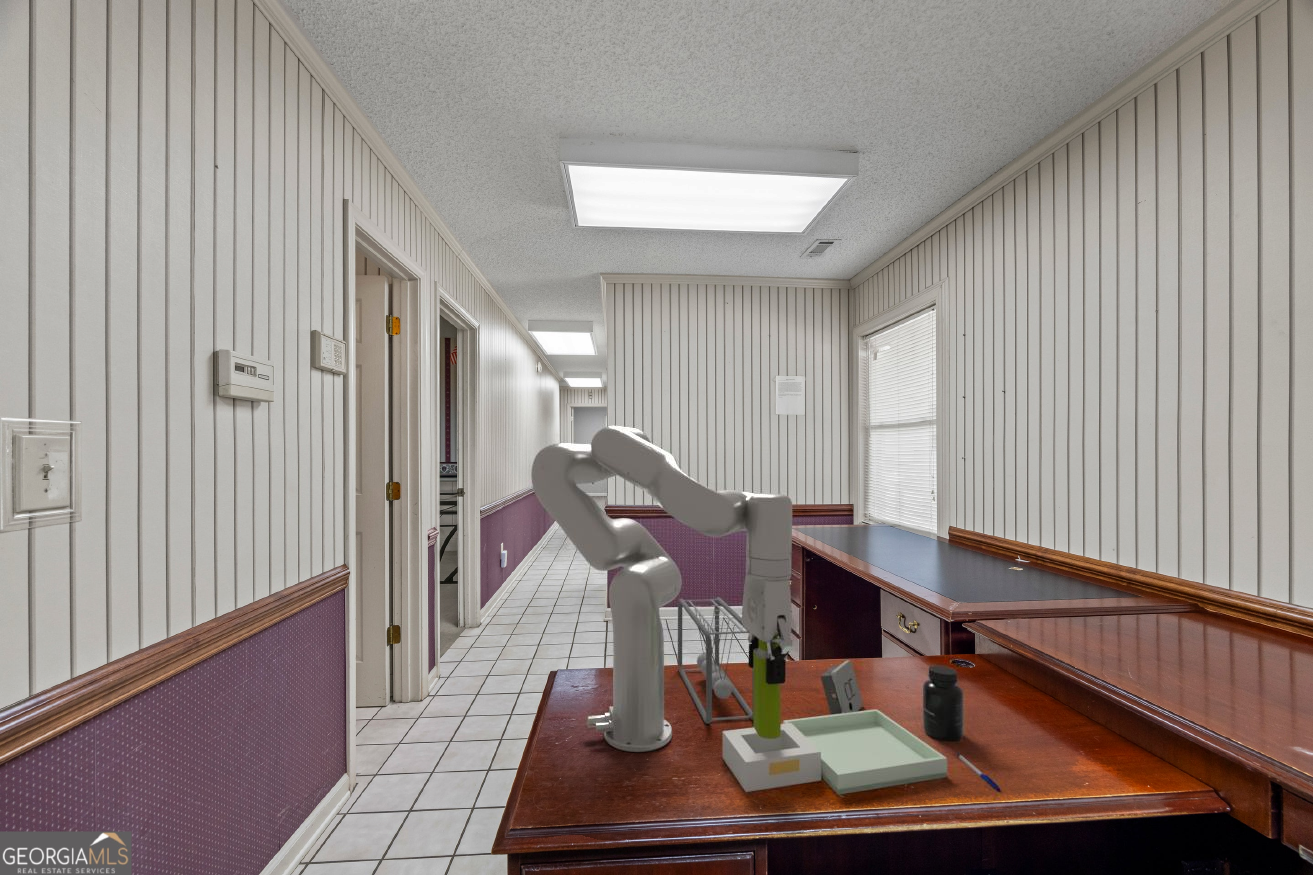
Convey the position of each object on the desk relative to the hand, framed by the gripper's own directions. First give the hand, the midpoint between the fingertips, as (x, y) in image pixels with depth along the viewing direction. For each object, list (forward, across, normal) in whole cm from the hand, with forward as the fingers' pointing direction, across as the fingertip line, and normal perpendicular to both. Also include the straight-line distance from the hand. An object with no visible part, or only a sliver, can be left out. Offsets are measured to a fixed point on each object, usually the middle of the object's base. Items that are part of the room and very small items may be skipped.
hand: (766, 673), depth 92 cm
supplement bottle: (+15, -2, +38) cm, 41 cm away
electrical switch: (+15, -15, +25) cm, 33 cm away
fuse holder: (+15, +1, +1) cm, 16 cm away
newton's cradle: (+16, -29, +2) cm, 34 cm away
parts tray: (+15, +1, +18) cm, 23 cm away
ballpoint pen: (+15, +10, +34) cm, 38 cm away
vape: (+9, +1, 0) cm, 10 cm away
